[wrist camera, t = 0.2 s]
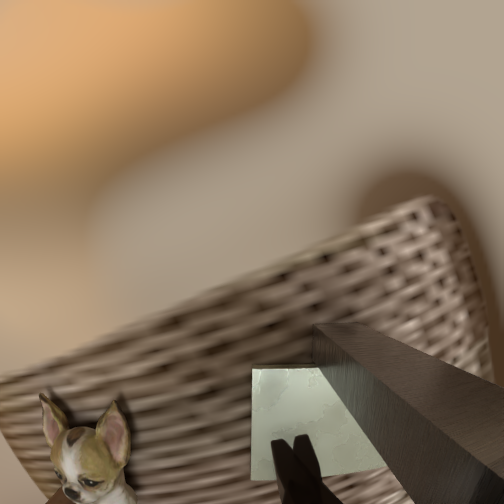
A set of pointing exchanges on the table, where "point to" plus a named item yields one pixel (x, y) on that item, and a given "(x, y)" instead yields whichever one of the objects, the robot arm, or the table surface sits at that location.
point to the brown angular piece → (60, 498)
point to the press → (384, 416)
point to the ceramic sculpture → (90, 455)
